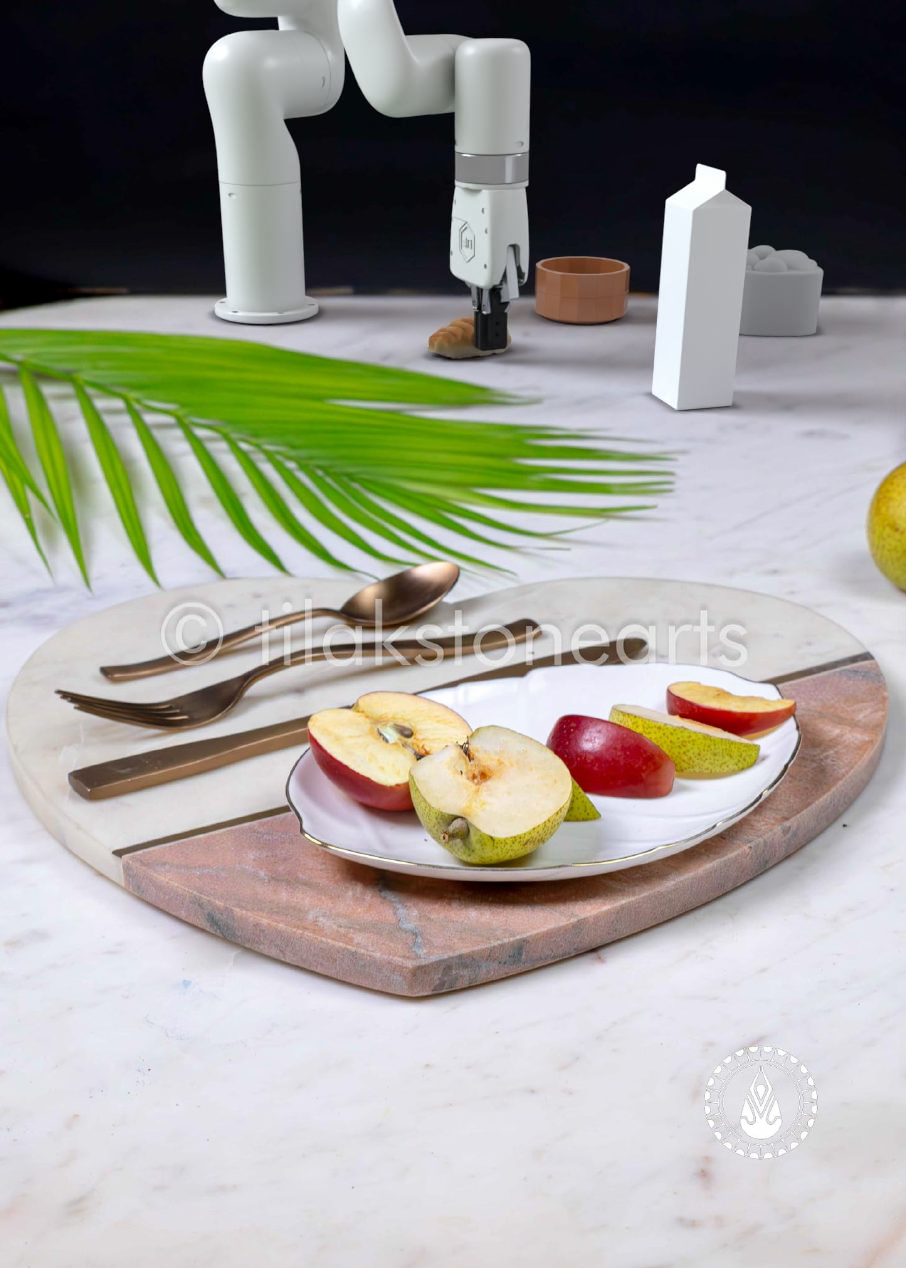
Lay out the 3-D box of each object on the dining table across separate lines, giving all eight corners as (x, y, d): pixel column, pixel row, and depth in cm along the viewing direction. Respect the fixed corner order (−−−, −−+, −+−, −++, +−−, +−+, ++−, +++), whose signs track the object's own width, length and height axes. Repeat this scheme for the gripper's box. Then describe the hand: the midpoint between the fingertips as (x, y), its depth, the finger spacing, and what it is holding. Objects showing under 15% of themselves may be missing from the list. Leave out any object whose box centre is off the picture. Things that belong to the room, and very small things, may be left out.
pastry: (453, 365, 146) (453, 329, 144) (412, 353, 150) (412, 318, 148) (516, 350, 151) (516, 316, 150) (475, 339, 156) (475, 306, 154)
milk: (676, 411, 131) (694, 173, 121) (650, 394, 137) (666, 164, 127) (733, 406, 133) (755, 170, 123) (706, 389, 138) (725, 161, 128)
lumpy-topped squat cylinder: (820, 337, 158) (829, 261, 154) (707, 334, 159) (714, 258, 155) (805, 316, 167) (814, 244, 163) (698, 313, 168) (705, 242, 164)
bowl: (518, 309, 169) (520, 260, 167) (596, 301, 174) (599, 253, 171) (562, 329, 160) (565, 278, 158) (643, 320, 164) (647, 270, 162)
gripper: (428, 164, 143) (430, 337, 151) (491, 181, 131) (489, 368, 139) (492, 160, 146) (491, 330, 154) (559, 176, 134) (554, 360, 142)
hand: (490, 348), depth 147 cm, fingers closed
